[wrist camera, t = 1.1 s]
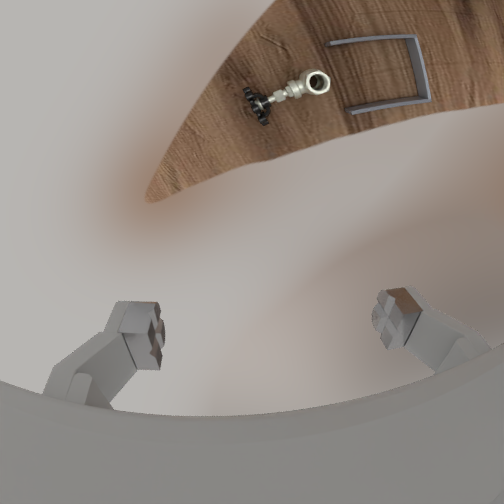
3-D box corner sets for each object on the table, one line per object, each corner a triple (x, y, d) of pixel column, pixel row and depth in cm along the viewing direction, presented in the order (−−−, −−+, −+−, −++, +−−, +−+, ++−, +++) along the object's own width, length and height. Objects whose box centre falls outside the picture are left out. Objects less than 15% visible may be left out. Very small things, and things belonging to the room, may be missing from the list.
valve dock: (406, 35, 28) (416, 34, 26) (421, 98, 35) (431, 101, 33) (324, 43, 32) (329, 41, 29) (345, 111, 39) (351, 114, 36)
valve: (312, 59, 34) (243, 88, 37) (321, 57, 28) (241, 90, 32) (329, 94, 37) (262, 122, 41) (341, 98, 32) (263, 130, 35)
